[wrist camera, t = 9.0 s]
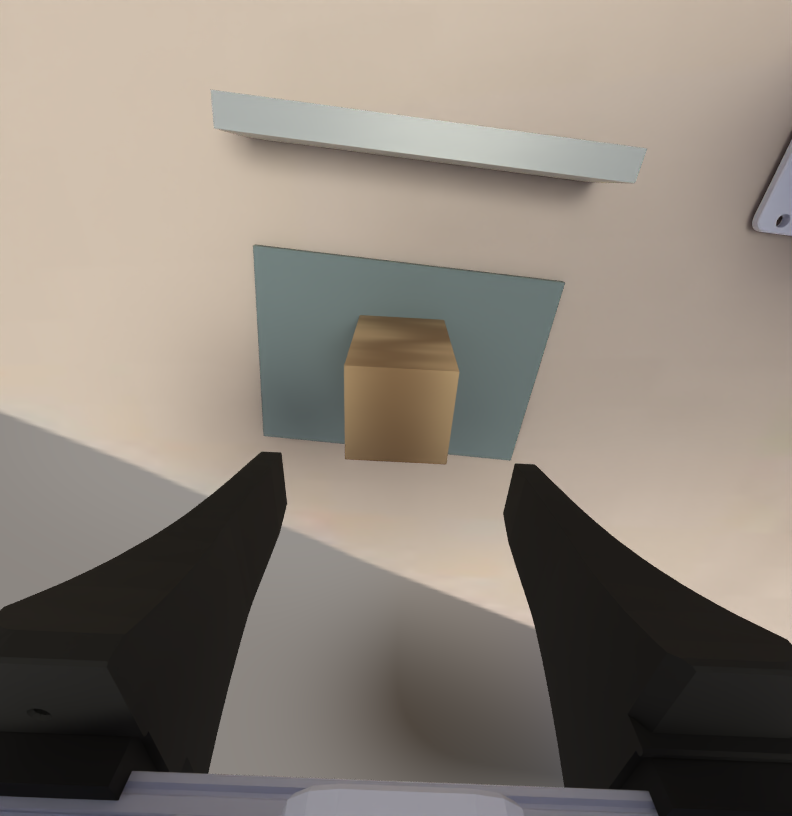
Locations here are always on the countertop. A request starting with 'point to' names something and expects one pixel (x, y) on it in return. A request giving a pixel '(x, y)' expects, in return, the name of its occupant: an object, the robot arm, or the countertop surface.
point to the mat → (409, 298)
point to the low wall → (424, 139)
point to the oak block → (399, 390)
